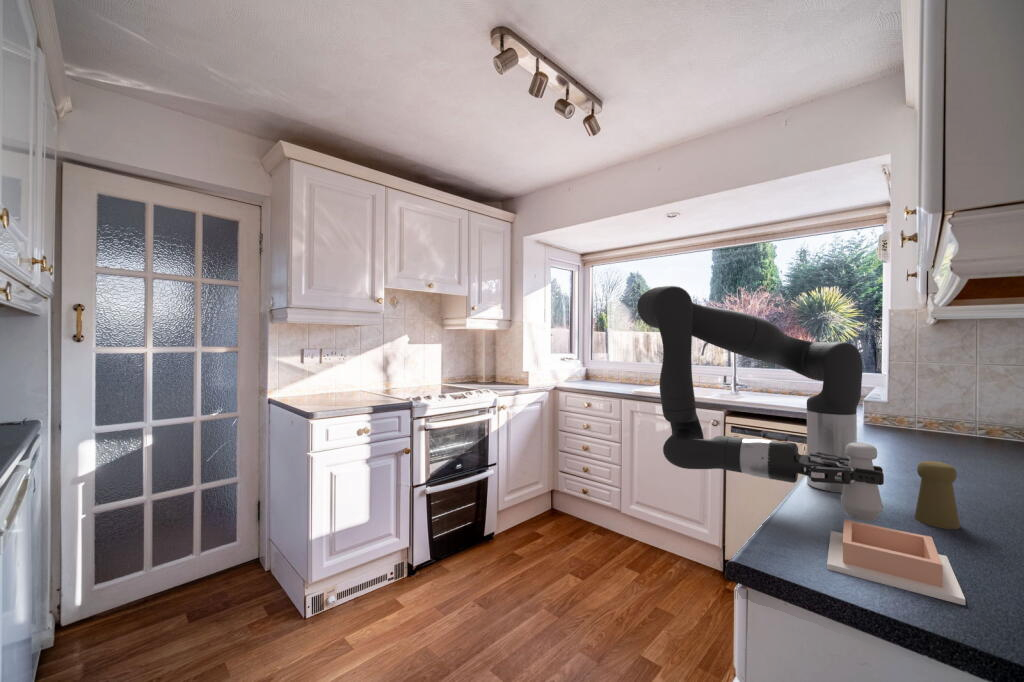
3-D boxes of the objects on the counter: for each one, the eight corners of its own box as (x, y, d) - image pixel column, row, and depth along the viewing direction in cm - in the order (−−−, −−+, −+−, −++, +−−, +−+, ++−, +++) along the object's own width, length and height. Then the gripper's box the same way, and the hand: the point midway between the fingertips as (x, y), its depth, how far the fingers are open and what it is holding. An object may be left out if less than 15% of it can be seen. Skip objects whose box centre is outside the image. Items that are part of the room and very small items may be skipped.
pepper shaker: (968, 526, 77) (968, 465, 77) (947, 531, 75) (946, 468, 75) (927, 513, 83) (927, 456, 83) (906, 517, 81) (906, 459, 81)
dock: (831, 535, 73) (831, 513, 73) (946, 561, 65) (946, 536, 65) (827, 569, 63) (827, 542, 63) (965, 605, 54) (965, 575, 54)
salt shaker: (876, 526, 72) (876, 449, 72) (836, 515, 77) (836, 443, 77) (886, 517, 76) (886, 444, 76) (847, 507, 81) (847, 438, 80)
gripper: (762, 447, 80) (885, 463, 69) (773, 434, 91) (881, 446, 80) (762, 487, 80) (885, 510, 69) (773, 469, 91) (881, 486, 80)
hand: (882, 475), depth 75 cm, fingers closed on salt shaker, 3 cm apart
